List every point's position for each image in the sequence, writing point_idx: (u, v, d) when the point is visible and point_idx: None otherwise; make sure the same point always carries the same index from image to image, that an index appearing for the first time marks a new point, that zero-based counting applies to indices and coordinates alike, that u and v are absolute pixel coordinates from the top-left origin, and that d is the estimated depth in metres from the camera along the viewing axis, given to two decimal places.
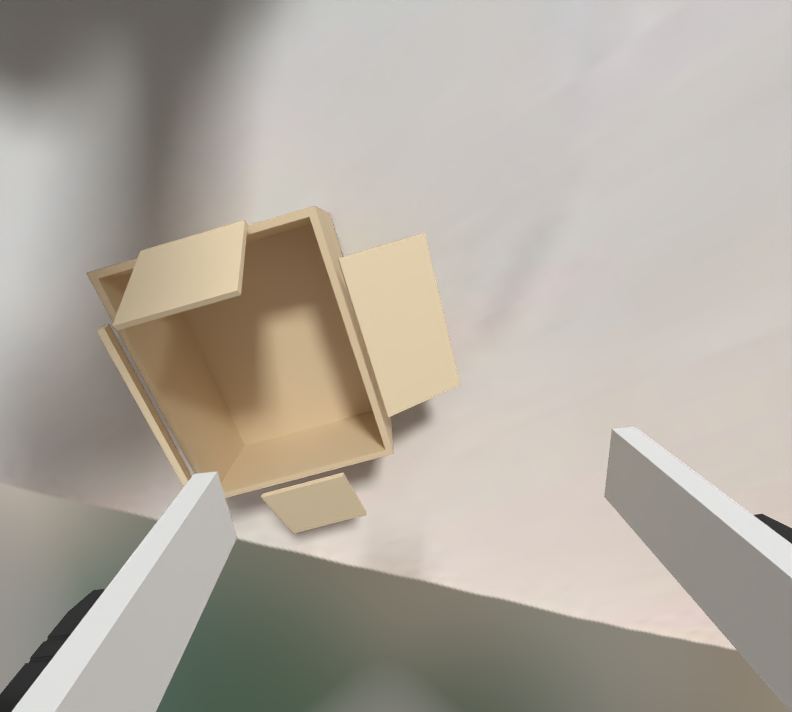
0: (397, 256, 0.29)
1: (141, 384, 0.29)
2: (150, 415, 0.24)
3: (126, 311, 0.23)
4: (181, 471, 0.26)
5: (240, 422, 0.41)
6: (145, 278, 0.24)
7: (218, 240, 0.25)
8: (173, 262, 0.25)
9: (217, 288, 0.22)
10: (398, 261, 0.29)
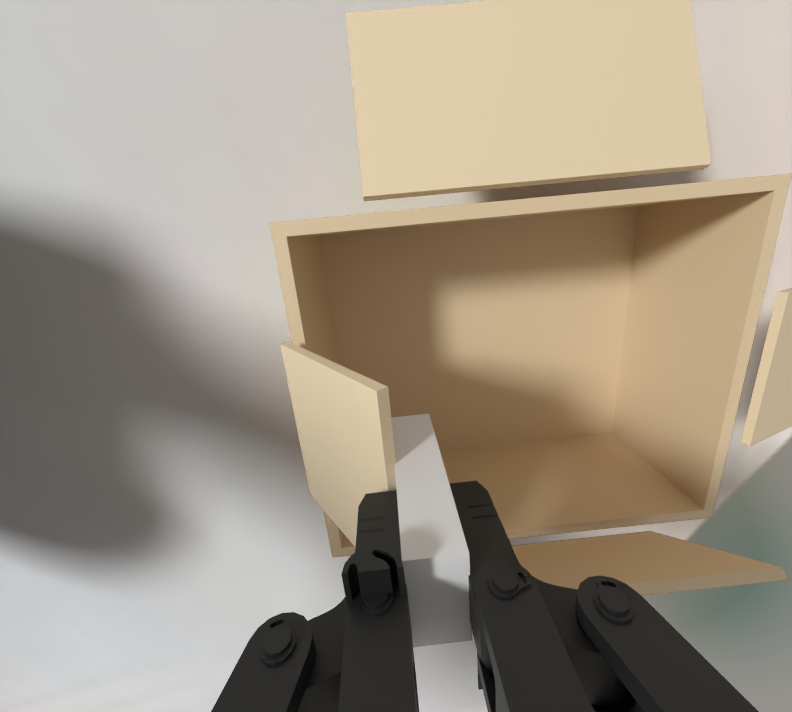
0: (380, 79, 0.15)
1: None
2: None
3: None
4: (695, 579, 0.13)
5: (576, 429, 0.29)
6: (341, 512, 0.15)
7: (302, 391, 0.15)
8: (325, 466, 0.15)
9: (367, 424, 0.11)
10: (390, 79, 0.15)
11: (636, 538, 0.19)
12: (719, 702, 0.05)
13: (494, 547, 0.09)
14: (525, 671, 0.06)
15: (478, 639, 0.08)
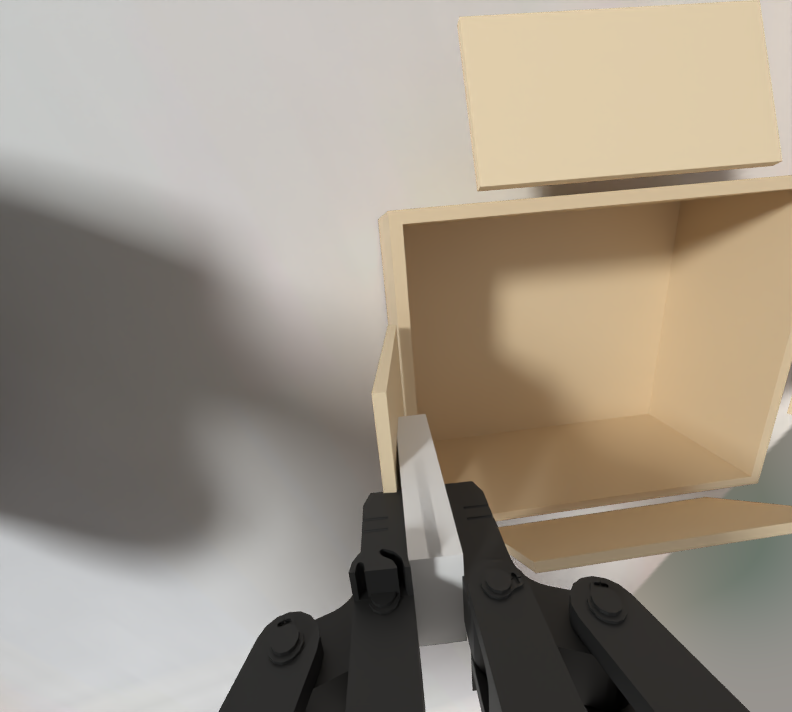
0: (493, 78, 0.16)
1: (571, 518, 0.21)
2: (680, 541, 0.15)
3: None
4: (784, 525, 0.15)
5: (616, 410, 0.31)
6: None
7: None
8: None
9: None
10: (502, 78, 0.16)
11: (699, 502, 0.21)
12: (710, 702, 0.05)
13: (488, 548, 0.09)
14: (518, 672, 0.06)
15: (472, 640, 0.08)
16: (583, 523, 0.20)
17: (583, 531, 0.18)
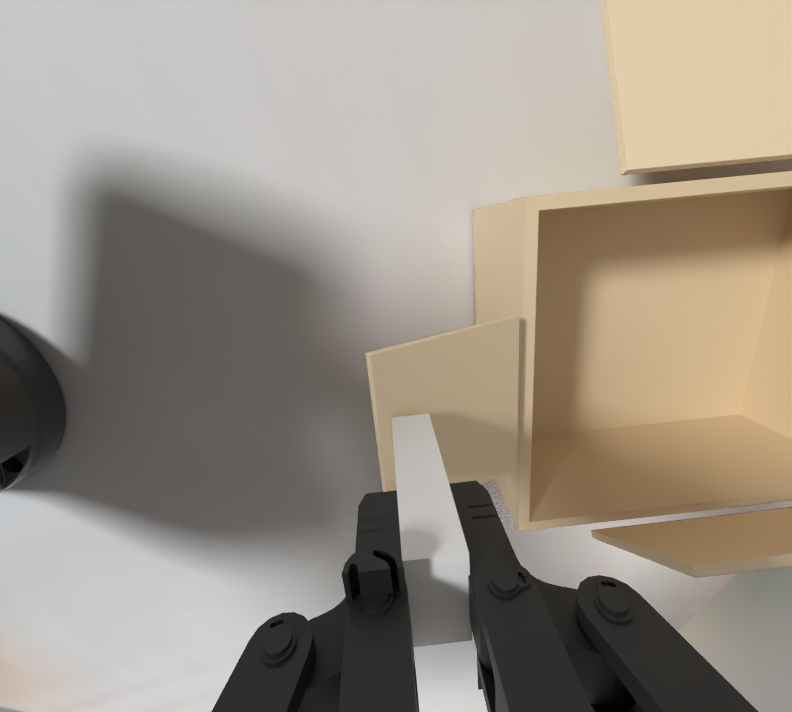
0: (641, 55, 0.15)
1: (685, 521, 0.20)
2: None
3: None
4: None
5: (706, 410, 0.29)
6: None
7: None
8: None
9: None
10: (650, 55, 0.15)
11: None
12: (718, 702, 0.05)
13: (494, 547, 0.09)
14: (525, 671, 0.06)
15: (478, 639, 0.08)
16: (707, 527, 0.19)
17: (717, 535, 0.17)
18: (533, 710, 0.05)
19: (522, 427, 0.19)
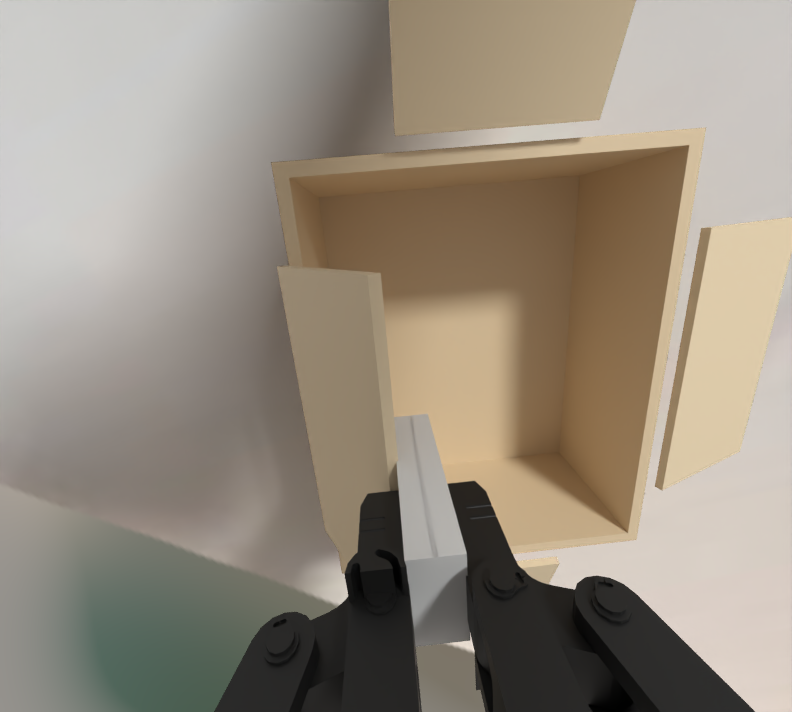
0: (764, 245, 0.18)
1: None
2: None
3: None
4: None
5: None
6: None
7: None
8: None
9: None
10: (762, 253, 0.18)
11: None
12: (715, 702, 0.05)
13: (492, 547, 0.09)
14: (522, 671, 0.06)
15: (475, 639, 0.08)
16: None
17: None
18: (530, 710, 0.05)
19: (439, 152, 0.15)
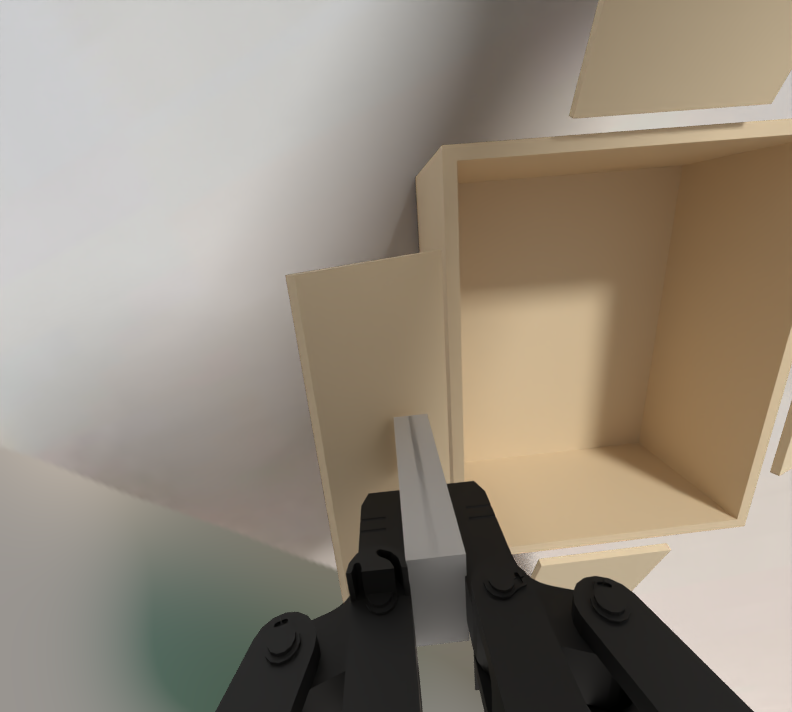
0: None
1: (441, 368, 0.17)
2: (325, 467, 0.12)
3: None
4: (343, 572, 0.13)
5: None
6: None
7: None
8: None
9: None
10: None
11: None
12: (714, 702, 0.05)
13: (491, 547, 0.09)
14: (521, 671, 0.06)
15: (474, 639, 0.08)
16: (417, 377, 0.15)
17: (390, 369, 0.14)
18: (529, 710, 0.05)
19: (606, 136, 0.15)
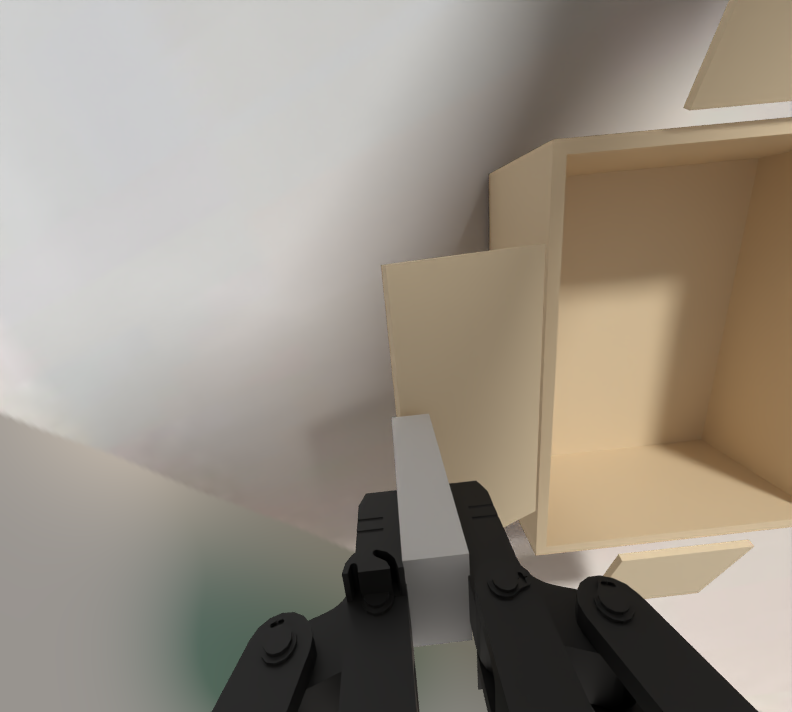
0: None
1: (534, 361, 0.17)
2: None
3: None
4: None
5: None
6: None
7: None
8: None
9: None
10: None
11: (517, 496, 0.19)
12: (718, 702, 0.05)
13: (494, 547, 0.09)
14: (525, 671, 0.06)
15: (478, 639, 0.08)
16: (504, 364, 0.16)
17: (472, 353, 0.15)
18: (533, 710, 0.05)
19: (716, 127, 0.15)
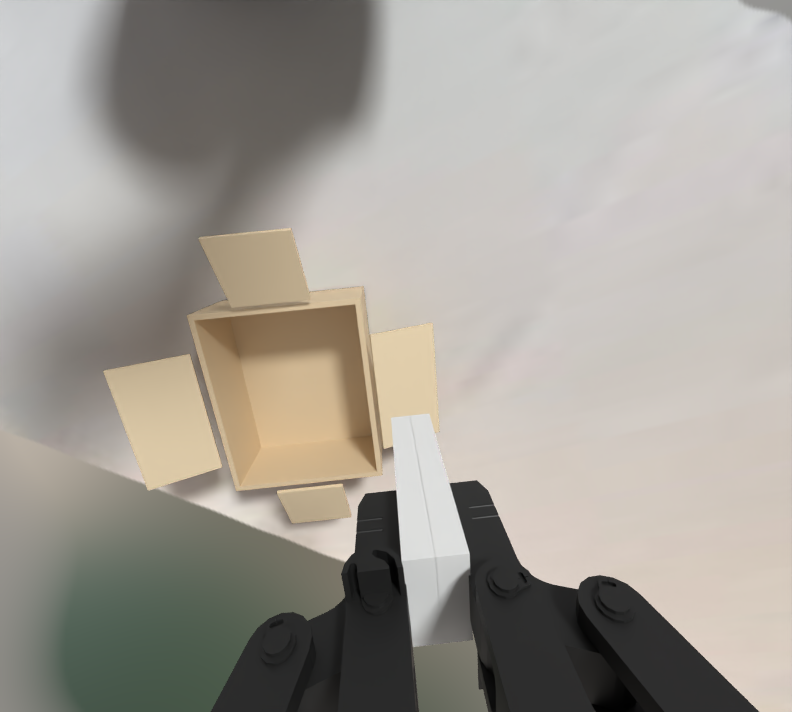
0: (411, 337, 0.41)
1: (198, 400, 0.40)
2: (124, 426, 0.37)
3: None
4: (138, 464, 0.39)
5: (261, 429, 0.52)
6: None
7: None
8: None
9: None
10: (411, 341, 0.41)
11: (206, 459, 0.42)
12: (719, 702, 0.05)
13: (494, 547, 0.09)
14: (525, 671, 0.06)
15: (478, 639, 0.08)
16: (178, 402, 0.39)
17: (157, 399, 0.38)
18: (534, 710, 0.05)
19: (253, 309, 0.38)
